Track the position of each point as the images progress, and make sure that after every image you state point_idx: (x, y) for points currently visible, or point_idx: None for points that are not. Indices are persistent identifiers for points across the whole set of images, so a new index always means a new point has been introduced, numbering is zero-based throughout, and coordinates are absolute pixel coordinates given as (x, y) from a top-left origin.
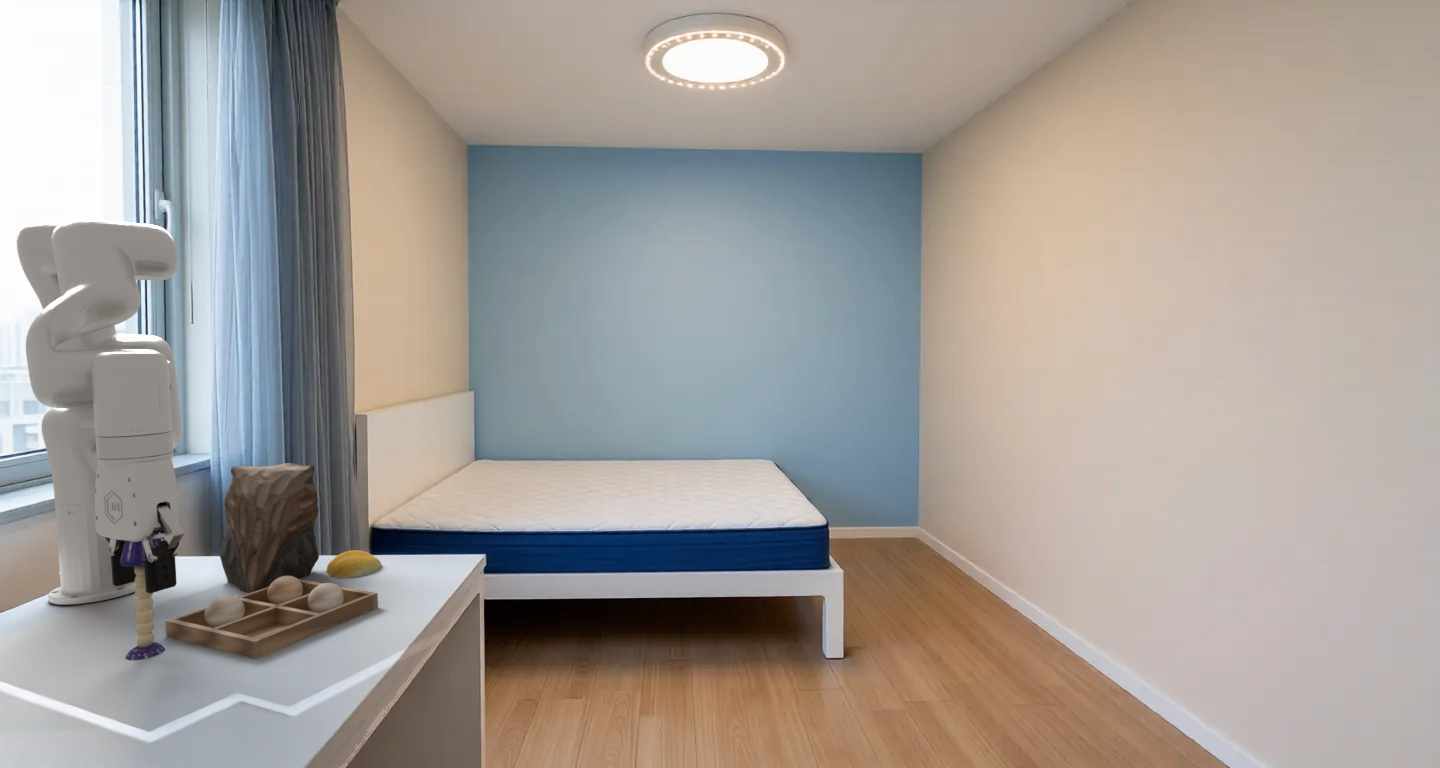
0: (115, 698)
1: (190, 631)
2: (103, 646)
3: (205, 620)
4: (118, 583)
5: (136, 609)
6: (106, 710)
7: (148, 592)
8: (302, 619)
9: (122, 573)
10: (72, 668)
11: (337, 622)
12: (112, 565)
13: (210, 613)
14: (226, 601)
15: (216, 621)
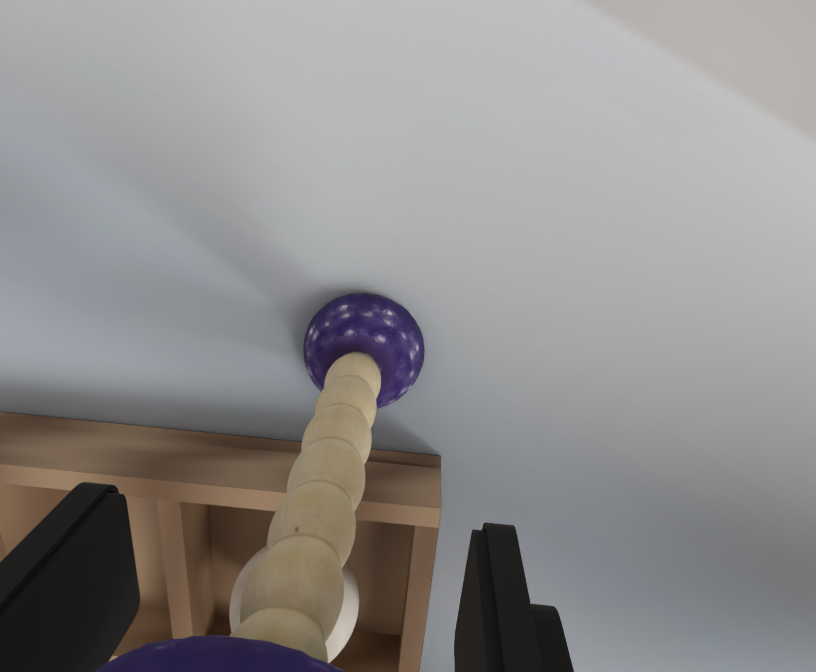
0: (105, 98)
1: (287, 480)
2: (645, 381)
3: None
4: (472, 540)
5: (339, 440)
6: (21, 18)
7: (88, 482)
8: None
9: (473, 619)
10: (556, 221)
11: None
12: (526, 662)
13: None
14: None
15: (263, 550)
